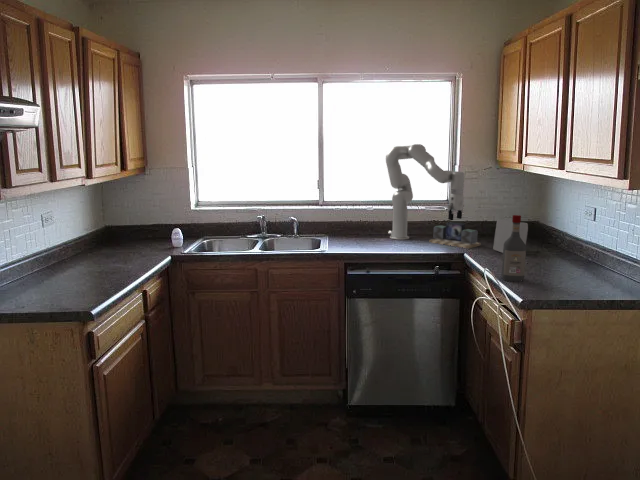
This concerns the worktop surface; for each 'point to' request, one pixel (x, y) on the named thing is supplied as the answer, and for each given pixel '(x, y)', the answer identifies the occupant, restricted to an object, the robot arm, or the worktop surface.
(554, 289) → the worktop surface
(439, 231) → the rail board
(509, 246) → the liquor
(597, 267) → the worktop surface
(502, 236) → the electrical switch box
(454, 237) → the small box
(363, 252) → the worktop surface
